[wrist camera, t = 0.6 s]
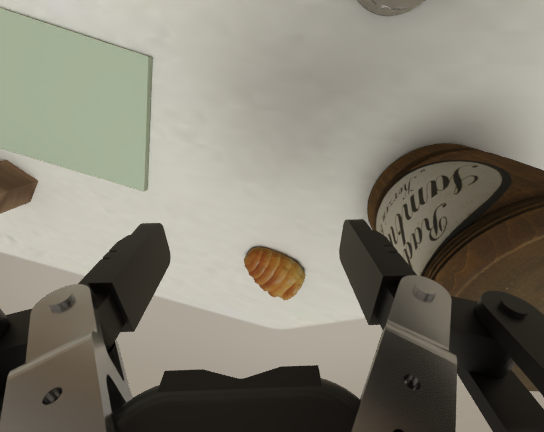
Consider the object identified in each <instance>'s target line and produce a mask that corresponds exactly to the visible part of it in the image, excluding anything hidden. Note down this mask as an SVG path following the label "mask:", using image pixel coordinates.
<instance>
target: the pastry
mask: <svg viewBox="0 0 544 432" xmlns="http://www.w3.org/2000/svg"><path fill="white" fill-rule="evenodd" d="M244 263H245V267H246V268H247V270H248V272H249V275H250V276H252V277H253V278H254V280H255V282H256V283H257V284H259V286H260V287H261V288H262V289H263V290H264V291H268V293H269V294H270V295H271V296H273V297H277V296H279V297H280V298H282V299H283V300H288V299H290V298H292V297H293V296H294V295H296V293H297V291H298V290H299V289H300V288H301V286H302V284H303V282H304V279H305V273H304V271H303V270H302V268H301V267H300V266H299V264H298V263H297V262H295V261H294V260H293V259H292V258H290V257H287V256H286V255H283V254H281V253H278V252H276V251H274V250H271V249H268V248H262V247H255V248H252V249H251V250H250V251H249V252H248V254H247V256H246V257H245V259H244Z"/></svg>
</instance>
